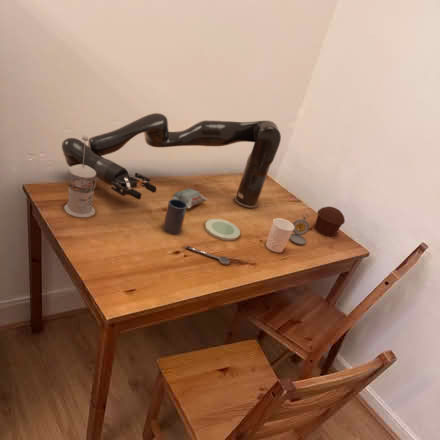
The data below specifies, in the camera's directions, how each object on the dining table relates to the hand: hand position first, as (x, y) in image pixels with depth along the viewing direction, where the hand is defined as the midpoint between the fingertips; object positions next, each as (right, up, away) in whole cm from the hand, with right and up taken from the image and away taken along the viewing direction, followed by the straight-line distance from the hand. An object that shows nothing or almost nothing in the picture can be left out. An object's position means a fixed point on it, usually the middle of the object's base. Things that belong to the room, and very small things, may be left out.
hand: (148, 193), depth 146 cm
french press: (-22, -6, -2) cm, 23 cm away
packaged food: (+12, +1, +21) cm, 24 cm away
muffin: (+68, -8, +35) cm, 77 cm away
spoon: (+20, -21, -4) cm, 29 cm away
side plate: (+25, -11, +12) cm, 30 cm away
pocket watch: (+54, -13, +22) cm, 60 cm away
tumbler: (+8, -12, +3) cm, 14 cm away
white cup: (+44, -17, +13) cm, 49 cm away
